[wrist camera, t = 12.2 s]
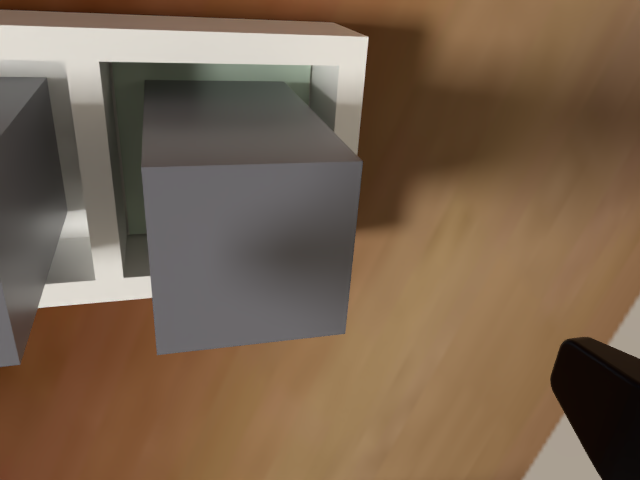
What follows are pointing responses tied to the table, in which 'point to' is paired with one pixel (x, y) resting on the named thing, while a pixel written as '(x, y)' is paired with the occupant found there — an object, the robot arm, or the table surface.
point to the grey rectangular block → (245, 215)
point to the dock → (127, 115)
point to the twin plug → (26, 207)
